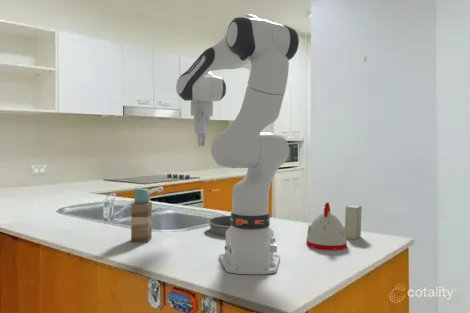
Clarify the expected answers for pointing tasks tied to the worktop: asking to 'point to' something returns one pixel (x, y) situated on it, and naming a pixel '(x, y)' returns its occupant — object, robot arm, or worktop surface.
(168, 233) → the worktop surface
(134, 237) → the tower block
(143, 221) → the tower block
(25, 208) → the worktop surface
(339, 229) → the kitchen timer
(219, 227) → the cake pan
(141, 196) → the teal cube
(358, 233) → the skincare box
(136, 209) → the tower block
